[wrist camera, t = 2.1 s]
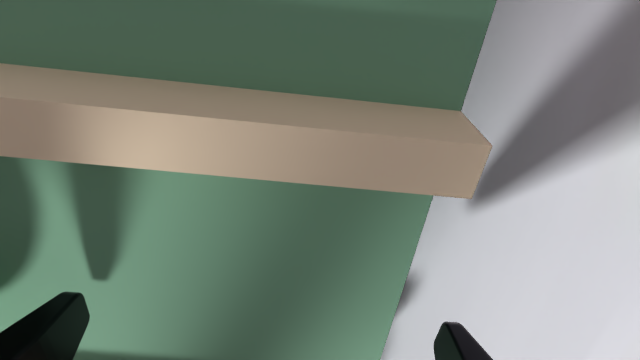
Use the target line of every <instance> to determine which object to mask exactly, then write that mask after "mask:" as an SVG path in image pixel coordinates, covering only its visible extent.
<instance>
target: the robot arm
mask: <svg viewBox="0 0 640 360" xmlns="http://www.w3.org/2000/svg"><path fill="white" fill-rule="evenodd" d="M89 319H90V314H89V310H88V307H87V304H86V301H85V298H84V295H83V294H82V293H80V292H68V291H67V292H62V293H60V294H58V295H57V296H55V297H54V298H52V299H51V300H49V301H47V302H46V303H44V304H43V305H41V306H40V307H38V308H37V309H35V310H34V311H32V312H31V313H29V314H28V315H26V316H25V317H23V318H21V319H20V320H18V321H17V322H15V323H14V324H12V325H11V326H9V327H8V328H6V329H5V330H3V331H2V332H0V360H73V358H74V356H75V354H76V351H77V349H78V347H79V345H80V342H81V340H82V338H83V335H84V333H85V331H86V328H87V326H88V323H89ZM434 354H435V360H493V359H492V358H491V357H490V356H489V355H488V354H487V352H486V351H485V350H484V349H483V348H482V347H481V346H480V345H479V343H478V342H477V341H476V340H475V339H474V338H473V337H472V336H471V334H470V333H469V332H468V331H467V330H466V329H465V328H464V327H463V326H462V325H461V324H460V323H457V322H444V323H443V324H442V325H441V327H440V330H439V332H438V334H437V336H436V339H435V341H434Z"/></svg>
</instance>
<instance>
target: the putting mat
mask: <svg viewBox="0 0 640 360" xmlns="http://www.w3.org/2000/svg"><path fill="white" fill-rule="evenodd" d="M496 1H497V0H0V332H2V331H3V330H5V329H6V328H8V327H9V326H11V325H12V324H14V323H15V322H17V321H18V320H20V319H21V318H23V317H25V316H26V315H28V314H29V313H31V312H32V311H34V310H35V309H37V308H38V307H40V306H41V305H43V304H44V303H46V302H47V301H49V300H51V299H52V298H54V297H55V296H57V295H58V294H60V293H62V292H67V291H68V292H80V293H82V294H83V295H84V298H85V301H86V304H87V307H88V310H89V314H90V319H89V323H88V326H87V328H86V331H85V333H84V335H83V338H82V340H81V342H80V345H79V347H78V349H77V351H76V354H75V356H74V358H73V360H380V358H381V355H382V352H383V349H384V346H385V343H386V340H387V337H388V334H389V331H390V328H391V325H392V321H393V318H394V315H395V312H396V309H397V306H398V303H399V300H400V297H401V294H402V291H403V288H404V284H405V281H406V278H407V275H408V272H409V269H410V266H411V263H412V260H413V257H414V254H415V251H416V247H417V244H418V241H419V238H420V235H421V232H422V229H423V226H424V223H425V220H426V217H427V214H428V210H429V207H430V204H431V201H432V198H433V195H434V196H445V197H455V198H466V199H472V197H473V194H474V192H475V189H476V187H477V184H478V182H479V179H480V176H481V174H482V171H483V169H484V166H485V164H486V161H487V159H488V156H489V154H490V151H491V148H492V145H491V144H490V143H489V142H488V140H487V139H486V138H485V137H484V136H483V135H482V134H481V133H480V132H479V131H478V130H477V128H476V127H475V126H474V125H473V124H472V123H471V122H470V121H469V120H468V119H467V117H466V116H465V115H464V114H463V113H462V112H461V109H462V106H463V102H464V99H465V96H466V93H467V90H468V87H469V84H470V81H471V78H472V75H473V72H474V69H475V65H476V62H477V59H478V56H479V53H480V50H481V47H482V44H483V41H484V38H485V35H486V32H487V28H488V25H489V22H490V19H491V16H492V13H493V10H494V7H495V4H496Z"/></svg>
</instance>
